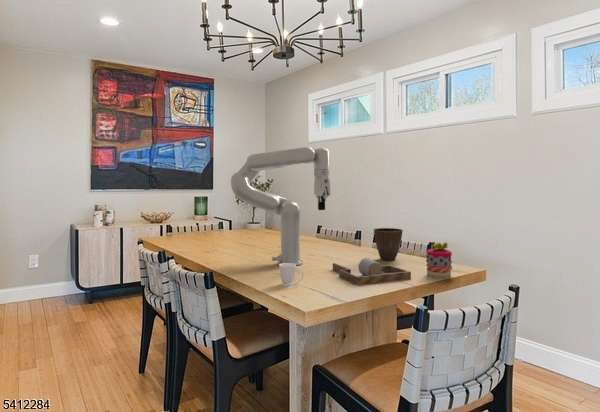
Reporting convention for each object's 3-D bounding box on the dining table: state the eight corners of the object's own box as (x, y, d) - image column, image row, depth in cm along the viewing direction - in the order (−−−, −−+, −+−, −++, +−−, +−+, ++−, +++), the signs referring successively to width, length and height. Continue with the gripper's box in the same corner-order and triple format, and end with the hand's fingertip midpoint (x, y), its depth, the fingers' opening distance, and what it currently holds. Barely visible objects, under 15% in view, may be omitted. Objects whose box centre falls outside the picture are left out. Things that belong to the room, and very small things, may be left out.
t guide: (357, 285, 156) (357, 277, 156) (325, 270, 183) (325, 264, 183) (410, 278, 166) (410, 271, 166) (372, 265, 193) (372, 259, 193)
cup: (281, 281, 162) (281, 262, 161) (305, 283, 159) (305, 263, 159) (276, 286, 155) (276, 265, 154) (301, 287, 152) (301, 267, 152)
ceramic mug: (369, 279, 165) (369, 261, 164) (358, 275, 172) (358, 258, 172) (389, 277, 169) (389, 259, 169) (377, 273, 177) (377, 256, 176)
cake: (420, 274, 174) (421, 240, 173) (437, 271, 179) (438, 239, 178) (439, 279, 165) (440, 243, 164) (456, 276, 170) (457, 242, 169)
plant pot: (397, 263, 198) (397, 232, 197) (369, 260, 206) (369, 230, 205) (405, 258, 211) (406, 229, 210) (379, 256, 218) (379, 227, 218)
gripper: (335, 173, 192) (335, 210, 193) (321, 173, 206) (321, 208, 207) (321, 172, 189) (321, 211, 190) (308, 173, 203) (308, 209, 204)
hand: (321, 209), depth 198 cm, fingers closed
